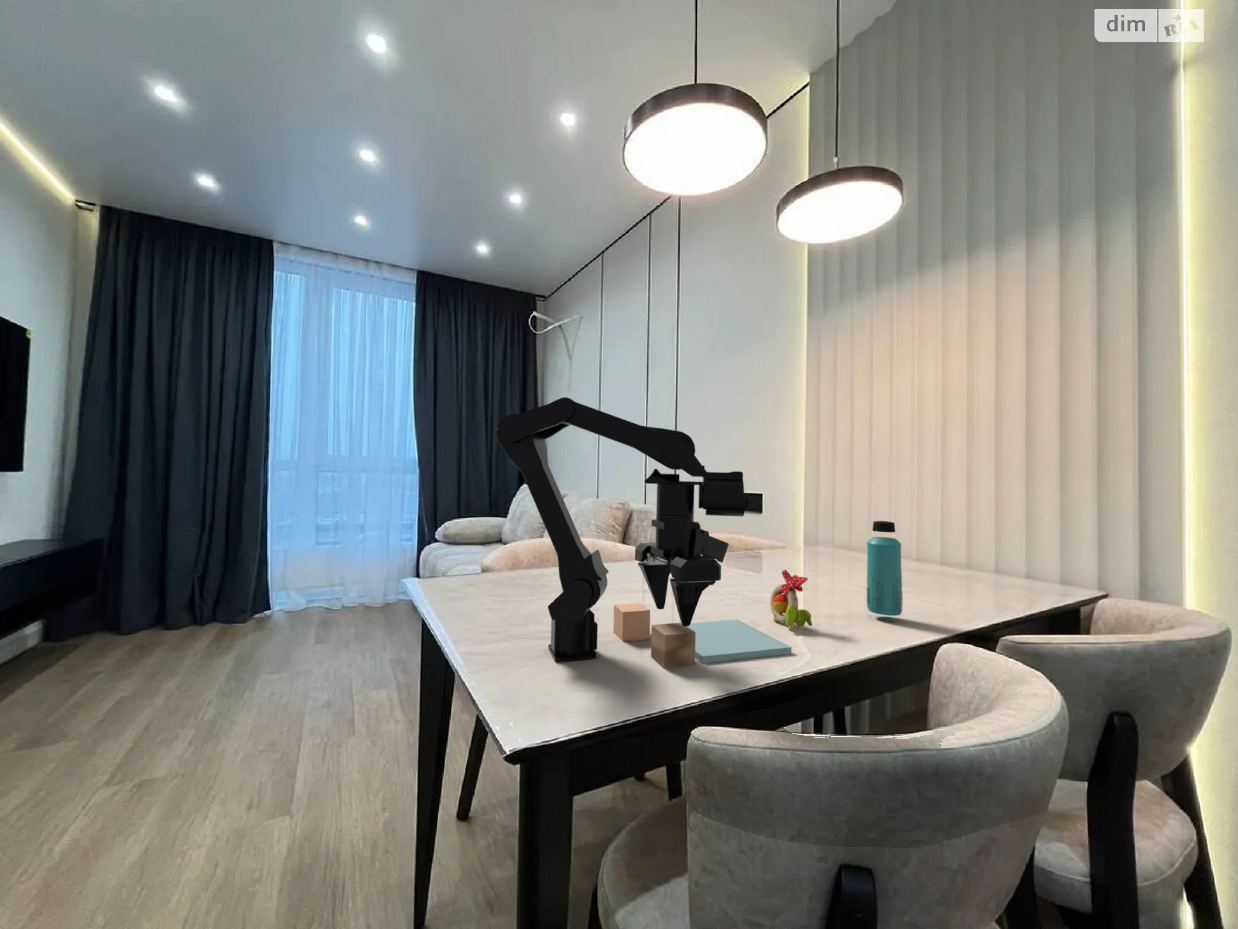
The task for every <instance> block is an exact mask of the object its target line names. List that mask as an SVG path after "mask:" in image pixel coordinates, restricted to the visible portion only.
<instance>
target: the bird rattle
mask: <svg viewBox="0 0 1238 929" xmlns="http://www.w3.org/2000/svg"><path fill="white" fill-rule="evenodd" d="M781 575H782V576H783V579H784V581H785V583H783V584H782V583H781V584H778V585H776V586H775V587H774V588H773V589H772V591H771V594H770V598H769V603H770V604H769V605H770V610H771V613H772V615H773V622H774V623H786V626H787V627H788V631H792V629H793V626H794V625H796V627H798V628H802V627H805V624H806V623H807V625H808V626H809V627H812V626H813V622H812V614H811V612H810V611H809V610H807V609H803V608H802V609H801V608H800V609H798V608H799V600H798V599H799V598H798V595H797V592H803V590H804V588H803V587H802V585H803V584H805V583H806V581H808V579H809V578H808V577H805V576H799V575H797V574H793V575H791V574H790V572H789V571H788V570H787V569H784V570H782V571H781Z"/></svg>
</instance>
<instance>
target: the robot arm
mask: <svg viewBox="0 0 1238 929" xmlns="http://www.w3.org/2000/svg"><path fill="white" fill-rule="evenodd" d="M569 426H573V427H576V428H579V429H582V430H584V431H586V432H589V433H592V434H594V435H598V436H600V437H603V438H605V439H608V440H611V441H614V442H616V443H618V444H619V443H620V444H622V445H625V446H627V447H630V448H632V449H635V450H637V451H639V452H640V453H642V454H643V455H645V456H647V457H648V458H650V459H652V460H654V461H655V462H657V463H659V464H661V465H662V466H664V467H666V468H667V469H669V470H673V471H683V472H685V473H686V474H688V475H689V476H691V477H693V478H702V481H689V480H688V481H684V480H680V478H681V476H680V473H661V472H660V471H659V469H657V468H654V469H653V471H652V472H651V473H650V475H649V476H648V477H646V478H645V479H644V483H645V484H648V485H649V484H650V485H651V484H652V485H655V484H656V511H655V512H656V514H655V516H656V518H655V519H651V525H650V526H651V527H654V528H655V542H640V543H639V544H638V545H637V546H636V547H635V548H634V550H635V551H634V560H635V561H637V562H638V563H637V566H638V567H639V569H640V571H641V572H642V575H643V578H644V580H645V582H646V584H647V586H648V589H649V591H650V595H651V597H652V600H653V602H654V604H655V607H656V609H657V610H664V608H665V606H666V601H667V594H668V584H669V583H670V586H671V591H672V594H673V597H674V603H675V606H676V609H677V612H678V616H679V619H680V620H679V621H680V623H682V626H690V624H691V623H692V620H693V619H694V616H695V615H694V614H695V612H696V609H697V607H698V603H699V602H700V601H699V600H700V598H701V596H702V594H703V592H704V590H706V589H707V588H708V587H709V586H713V585H715V584H716V582H718V581H721V580H722V565H721V564H720V563H722V564H723V563H724V561H725V558H726V554H727V553H728V552H727V550H728V548H729V546H730V544H729V542H726V541H723V540H722V539H719V538H716V537H714V536H711V535H710V532H709V531H708V530H704V529H703V528H701V524H700V522H699V521H694V520H695V519H694V518H695V517H694V514H695V486H698V500H697V501H698V502H697V503H698V505H697V506H698V509H702V510H704V511H705V516H716V517H744V516H745V512H746V511H745V510H746V496H747V495H746V492H745V485H744V483H745V482H744V472H743V471H738V470H737V471H729V472H728V471H727V472H723V471H722V472H720V471H719V472H718V471H717V472H715V471H713V472H712V471H707V470H706V467H705V465H702V463H701V462H700V460H699V459H698V458H697V456H696V455H695V454H696V445H695V443H694V440H693V439H692V437H691V436H690V435H688V434H687V433H686V432H683V431H680V430H675V429H670V428H668V429H667V428H663V427H654V426H646V425H641V424H638V423H635V422H633V421H629V420H626V419H624V418H621V417H618V416H615V415H613V414H610V413H607V412H604V411H602V410H599V409H596V408H594V407H591V406H589V405H585V404H582V403H580V402H576V401H575V400H573V399H572V398H570V397H568V396H567V397H565V396H562V397H559V398H557V399H556V400H553V401H552V402H550V403H547V404H543V405H541V406H540V405H539V406H538V407H535V408H531V409H528V410H526V411H524V412H522V413H520V414H518V413H516V414H515V413H511V414H509V415H505V416H504V417H502V418H501V419H500V421H498V424H497V426H496V429H495V437H496V440H497V443H498V444H499V446H500V448H501V449H502V450H503V452H504V453H505V455H506V456H507V458H508V460H510V461H511V462H512V464H513V465H514V466H515V468H517V469H518V470H519V471H520V473H521V474H522V476H523V478H524V481H525V483H526V486H527V488H528V491H529V492H530V495H531V497H532V499H533V502H534V504H535V507H536V509H537V511H538V513H539V516H540V518H541V520H542V523H543V525H544V527H545V530H546V532H547V534H548V536H549V540H550V542H551V544H552V546H553V548H554V551H555V553H556V555H557V564H558V577H559V581H560V586H561V590H562V592H561V594H559V595H558V596H557V597H556V598H554V600H552V602H551V603H549V604H548V605H547V609H548V613H549V616H550V619H551V622H550V626H551V628H550V644H547V645H548V646H547V648H548V651H549V652H550V654H551V656H552V658H553V660H554V661H555V662H565V661H574V660H575V661H576V660H587V659H595V658H597V657H598V654H597V652H596V650H598V628H599V626H598V625H599V623H597V622H596V620H595V613H594V612H593V611H592V610H591V609H592V608H593V606H595V605H596V604H597V602H598V601H599V600H600V599H601V597H602V596H603V595H604V593H605V592H606V590H607V587H608V578H607V574H608V573H609V571H610V570H608V568H607V567H605V565H604V563H603V560H602V556H601V552H600V550H599V549H596V550H595V551H593V552H591V551H590V550H589V549H588V548H587V547H586V546H585V545H584V543H583V541H582V539H581V537H580V535H579V532H578V530H577V528H576V525H575V523H574V521H573V518H572V517H571V514H570V512H569V510H568V506H567V505H566V503H565V499H564V498H563V496H562V493H561V491H560V489H559V487H558V485H557V482H556V480H555V477H554V475H553V473H552V470H551V468H550V466H549V461H548V460H549V459H548V448H547V443H546V440H547V439H550V438H552V437H553V436H555V435H556V434H559V432H562V430H564V429H566V428H568V427H569ZM670 575H671V578H670Z"/></svg>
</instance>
